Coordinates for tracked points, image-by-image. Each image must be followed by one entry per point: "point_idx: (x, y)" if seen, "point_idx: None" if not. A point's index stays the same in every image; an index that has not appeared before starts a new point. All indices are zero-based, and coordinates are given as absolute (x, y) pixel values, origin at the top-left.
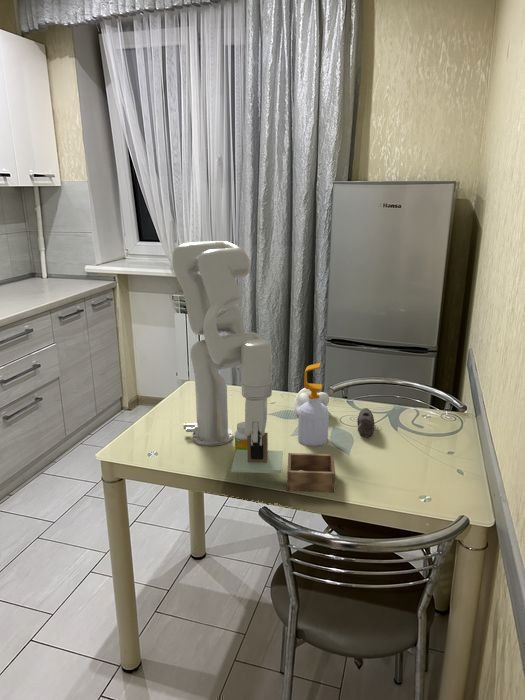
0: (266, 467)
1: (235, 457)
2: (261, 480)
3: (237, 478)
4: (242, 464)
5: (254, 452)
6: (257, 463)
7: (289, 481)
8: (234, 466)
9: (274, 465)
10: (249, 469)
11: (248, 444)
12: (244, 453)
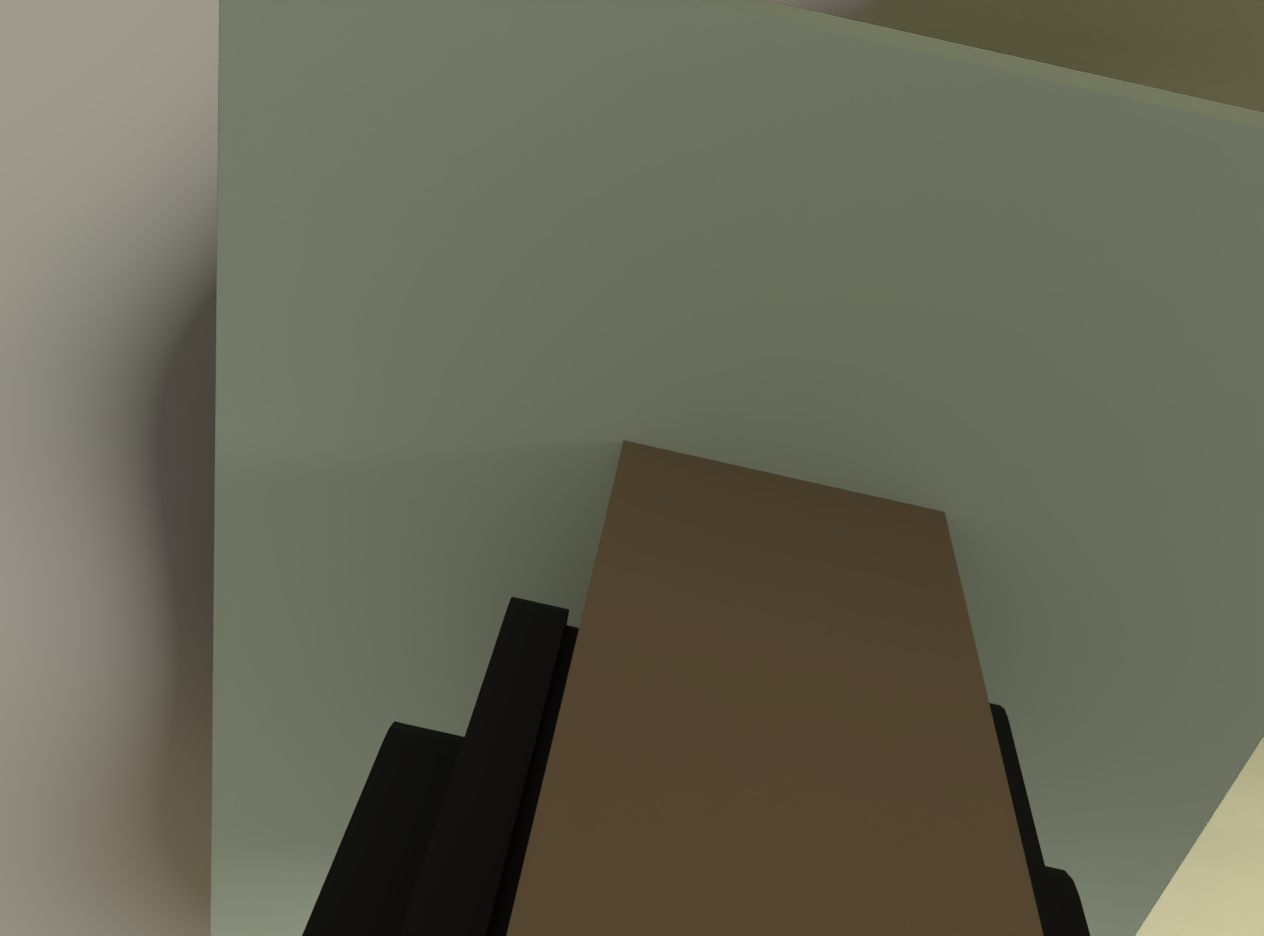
0: (321, 772)
1: (1007, 121)
2: None
3: (964, 29)
4: (496, 289)
5: (344, 850)
6: None
7: None
8: (391, 29)
9: None
10: (215, 430)
11: (516, 917)
12: (1188, 427)
